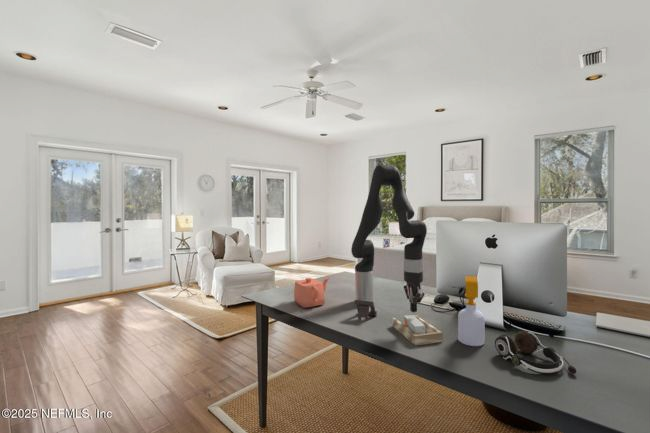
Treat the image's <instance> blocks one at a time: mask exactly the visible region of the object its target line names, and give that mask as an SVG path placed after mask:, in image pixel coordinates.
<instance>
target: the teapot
mask: <svg viewBox="0 0 650 433" xmlns="http://www.w3.org/2000/svg"><path fill="white" fill-rule="evenodd" d="M330 279H331V277H326V278H324V279H323V281H322V282H321V281H320V280H317V279H315V278H312V277H306V278H305V279H301V280H300V279H299V280H296V281H295V282H294V290H293V298H294V302H295V304H297V305H298V306H300V307H302V308H304V309H306V308H307V309H308V308H313V307H316V306H322V305H325V301H326V300H325V298H326V297H325V292H326V288H327V282H328V280H330Z"/></svg>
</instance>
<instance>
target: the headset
mask: <svg viewBox="0 0 650 433" xmlns="http://www.w3.org/2000/svg"><path fill="white" fill-rule="evenodd" d="M494 347H495V349H496V351H497V353H498V354H499V355H500V357H502V358H503V360H508V359H511V362H512V363H513V365H514V366H522V367H523V368H524V369H525V370H529V371H531V372H532V373H536V374H539V375H544V376H548V375H549V376H550V375H551V376H552V375H555V374H556V373H558V372H559V371H561V370H562V369H563V368H564V362H566V365H568V367H567V370H568V372H569V373H570V374H571V375H576V373H577V369H576V367H575V366H573V365H571V364H570V363H569V361H568V360H566V358H565V357H564V356H562V355H561V354H560V353H558V352H556V350H555V349H554V348H553V347H551V346H549V347H547V346H545V345H543V344H542V343H541V341H540V339H539V338H538V336H537V335H536V334H534V333H533V332H531V331H530V332H529V331H523V330H522V331H521V330H520V331H518V332H516V334H515V336H514V339H513V338H512V337H511V336H509V335H507V334H500V335H499V336H498V337H496V338H495V340H494ZM538 347H541V348H539V349H538ZM542 348H543V349H542ZM518 351H520V352H522V353H524V354H526V355H531V354H535V353H537V352H540V351H542V354H543V355H544V356H545V357H546V358H548V359H550V360H551V361H553V362H552V363H543V362H542V363H541V362H535V361H532V360H529V359H526V358H524V357H523V355H522V354H520V353H519V354H518Z"/></svg>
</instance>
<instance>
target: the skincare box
mask: <svg viewBox="0 0 650 433" xmlns="http://www.w3.org/2000/svg"><path fill="white" fill-rule="evenodd" d="M403 324H404V325H405V326H406V327H408V328H409V329H410V330H411V331H413V332H414V333H415V334H425V333H426V332H425V325H424V324H423V323H421V322H420V321H419V320H418V319H417V318H416V317H415V316H414V314H410V315H403Z"/></svg>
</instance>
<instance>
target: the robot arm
mask: <svg viewBox="0 0 650 433" xmlns="http://www.w3.org/2000/svg"><path fill="white" fill-rule="evenodd" d="M400 173H401V172H400V170H399V169H398V167H396V166H394V165H387V164H377V165H376V166H375V167H374V170H373V172H372V176H371V183H370V186H369V192H368V195H367V198H366V199H367V200H366V202H365V205H364V209H363V211H362V212H363V213H362V216H361V219H360V222H359V226H358V229H357V232H356V235H355V237H354V239H353V242H352V244H351V249H350V250H351V251H350V252H351V255H352V257H353V258H354V259H362V260H360V261H359V262H358V263H356V264H355V266H354V271H355V272H354V273H355V274H354V275H355V279H354V280H355V284H354V285H355V300H362V301H370V302H374V272H373V271H374V265H375V246H374V243H373V241H372V240H371V239H368V237H369V235H371V233H372V232H374V230H376V228H377V227H378V226H379V224H380V222H381V220H382V216H383V214H384V207H383V204H382V203H383V202H382V200H381V198H380V193H381V187H382V186H390V187H392V189H393V197H392V201H391V202H392V208H393V210H394V213H395V214H396V218H397V222H398V229H399V233H400V235H401V236H402V237H403V238H404V239H412V241H411V242H409V243H407V244H405V245H404V246H403V247H404V250H403V251H404V257H403V258H404V259H403V281H405V282H406V285H403V290H404V293H405V296H406V299H407V300H408V302H409V303H410V304H409V308H410V309H409V310H410V312H411V313H417V312H418V303H419V304H420V303H421V302H422V300H423V298H424V297H425V293H424V292H422V291H421V288H422V286H421V283H423V281H424V263H423V248H424V247H423V246H424V244H425V240H426V236H427V233H428V228H427V225H426V223H425V221H423V220H421V219H420V220H419V219H416V220H412V219H413V217H414V216H415V211H414V209H413V207H412V205H411V203H410V201H409V198H408V196H407V194H406V190H405V187H404V184H403V180H402V176H401V174H400Z"/></svg>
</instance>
